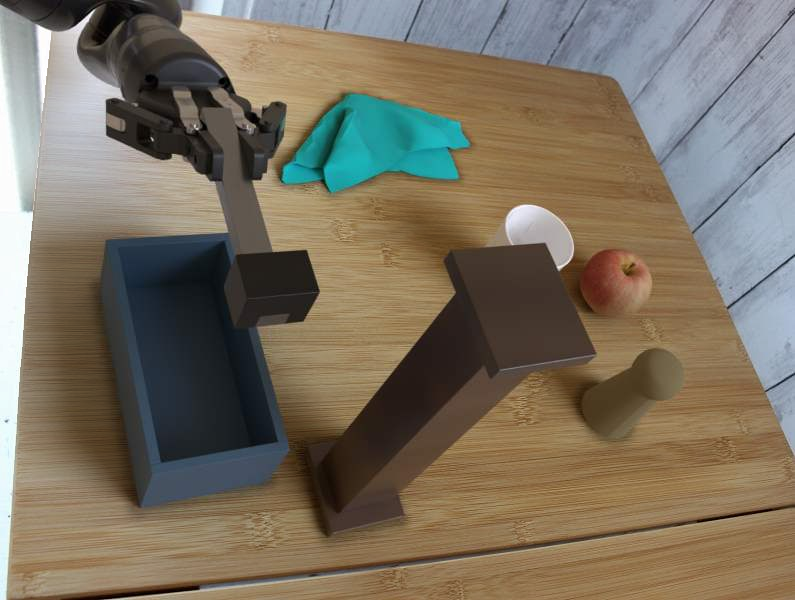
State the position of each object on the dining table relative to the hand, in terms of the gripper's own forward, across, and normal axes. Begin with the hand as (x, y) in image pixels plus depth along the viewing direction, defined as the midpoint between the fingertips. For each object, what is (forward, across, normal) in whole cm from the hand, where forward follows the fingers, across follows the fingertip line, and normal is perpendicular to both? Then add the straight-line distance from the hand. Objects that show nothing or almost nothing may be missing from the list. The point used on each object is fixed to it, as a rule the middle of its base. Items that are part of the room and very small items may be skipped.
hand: (238, 166), depth 53 cm
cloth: (-35, +28, +11) cm, 46 cm away
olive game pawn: (-2, +43, +30) cm, 52 cm away
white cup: (-17, +36, +22) cm, 45 cm away
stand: (-1, +13, +30) cm, 33 cm away
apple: (-14, +49, +23) cm, 56 cm away
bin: (-11, 0, +25) cm, 27 cm away
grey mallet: (+1, 0, +3) cm, 3 cm away
